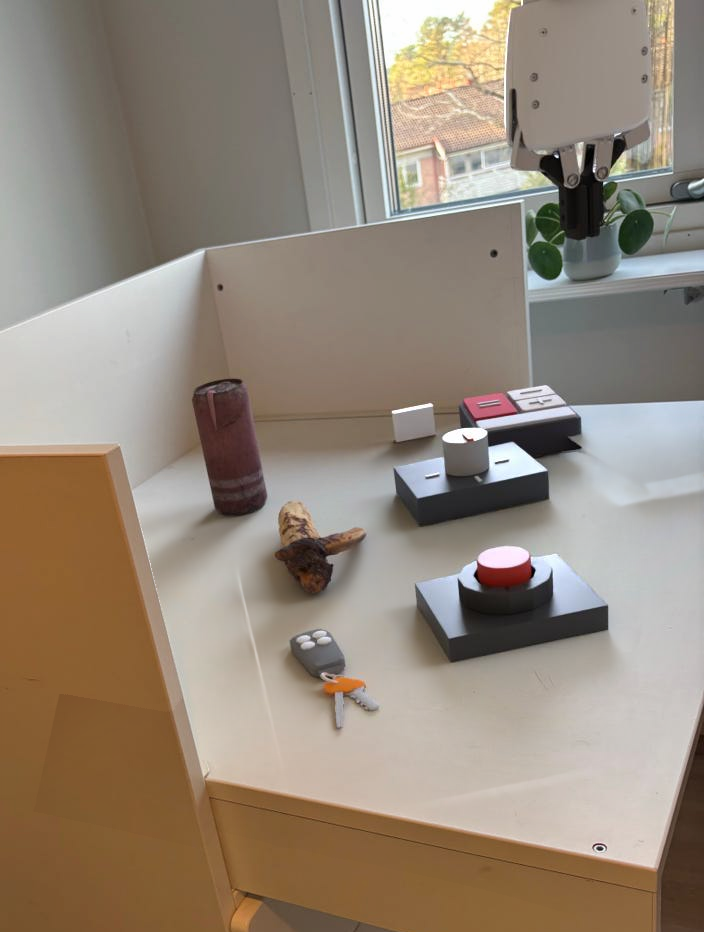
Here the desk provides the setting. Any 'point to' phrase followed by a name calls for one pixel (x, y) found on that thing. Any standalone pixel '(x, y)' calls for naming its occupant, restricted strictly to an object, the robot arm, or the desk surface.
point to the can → (230, 446)
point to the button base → (510, 609)
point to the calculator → (524, 420)
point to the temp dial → (466, 451)
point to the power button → (504, 566)
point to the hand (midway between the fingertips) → (582, 236)
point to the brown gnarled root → (310, 547)
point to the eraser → (413, 422)
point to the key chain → (329, 669)
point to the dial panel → (471, 486)
